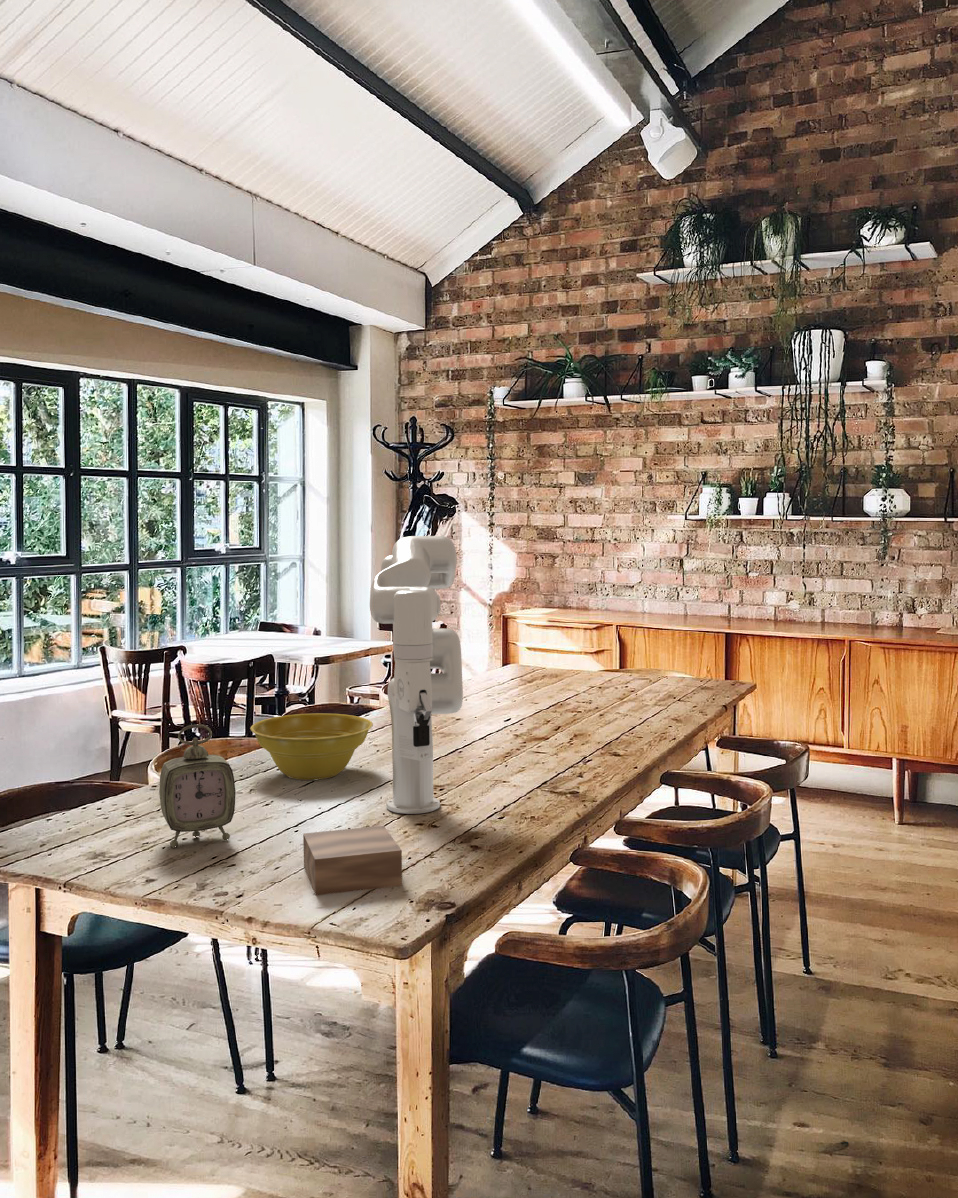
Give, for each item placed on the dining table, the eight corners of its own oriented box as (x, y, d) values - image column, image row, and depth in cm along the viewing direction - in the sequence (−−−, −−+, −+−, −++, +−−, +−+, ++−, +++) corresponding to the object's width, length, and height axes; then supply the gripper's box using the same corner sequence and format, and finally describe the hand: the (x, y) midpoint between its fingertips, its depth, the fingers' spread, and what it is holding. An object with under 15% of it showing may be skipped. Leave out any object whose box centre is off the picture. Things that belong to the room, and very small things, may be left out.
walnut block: (304, 868, 199) (303, 833, 199) (384, 859, 204) (383, 825, 203) (315, 897, 184) (314, 859, 183) (402, 887, 189) (401, 850, 188)
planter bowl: (395, 777, 268) (394, 727, 267) (281, 797, 250) (279, 743, 249) (340, 754, 294) (339, 708, 293) (233, 770, 276) (232, 721, 275)
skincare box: (434, 757, 201) (433, 697, 200) (417, 761, 198) (417, 700, 197) (412, 753, 205) (411, 693, 204) (395, 757, 202) (395, 696, 201)
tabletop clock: (166, 852, 209) (162, 731, 207) (159, 839, 217) (155, 723, 215) (236, 842, 215) (233, 725, 213) (228, 830, 223) (225, 717, 221)
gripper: (380, 649, 206) (382, 735, 207) (410, 659, 190) (411, 753, 192) (415, 646, 209) (416, 732, 211) (447, 656, 193) (448, 749, 195)
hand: (414, 741), depth 201 cm, fingers closed on skincare box, 7 cm apart
